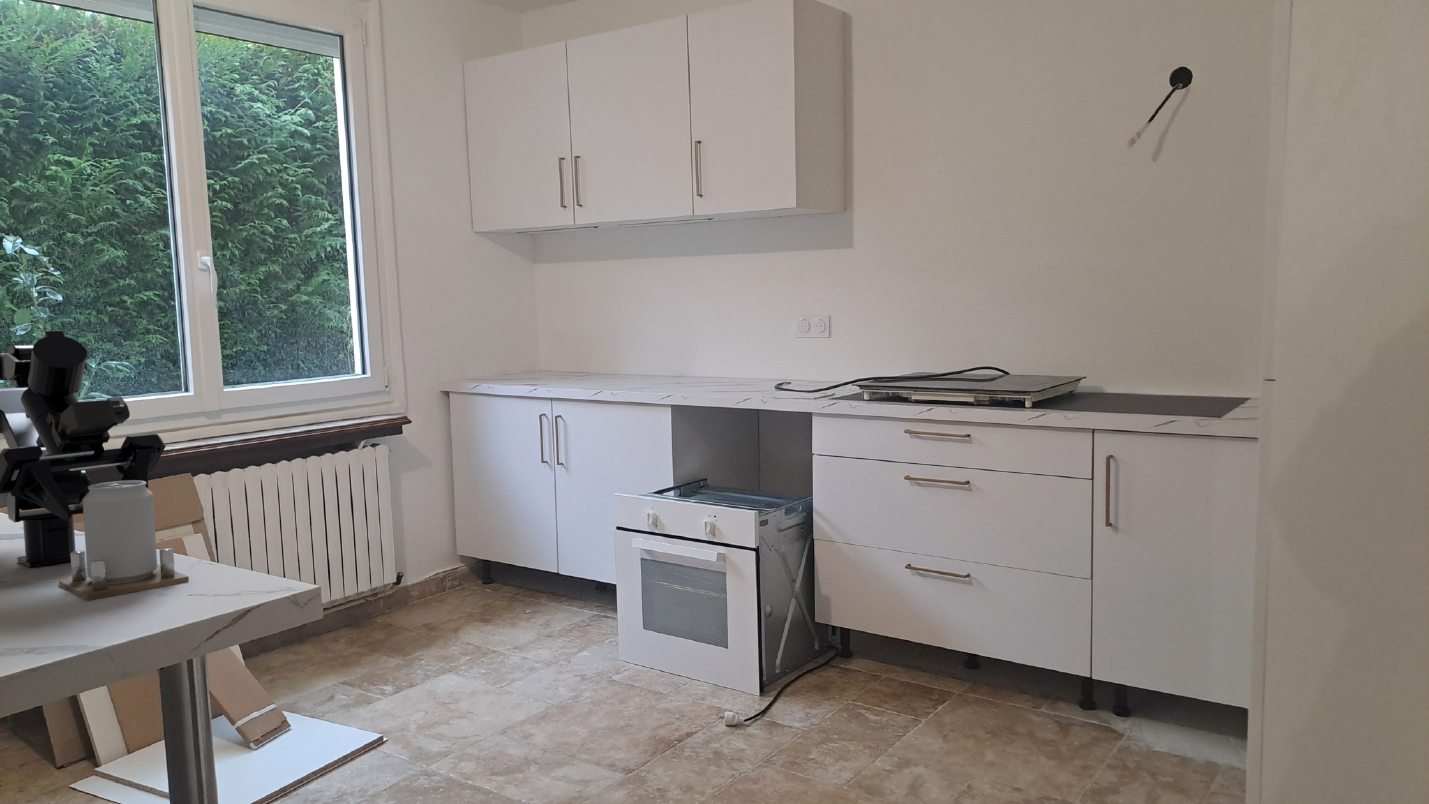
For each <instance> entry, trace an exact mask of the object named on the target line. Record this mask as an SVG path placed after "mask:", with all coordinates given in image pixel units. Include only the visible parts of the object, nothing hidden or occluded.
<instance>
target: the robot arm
mask: <svg viewBox="0 0 1429 804" xmlns="http://www.w3.org/2000/svg"><path fill="white" fill-rule="evenodd" d="M87 356H88V351H87V348H86V347H85V346H84V345H83V344H82V343H81V342H79V341H78V340H76V339H73V338H71V337H68V336H65V334H64V331H63V330H44V334H43V337H42V338H40V339H39V340H36V342H34V344H13V345H12V346H10V348H9V349H7V352H0V381H9V383H10V385H12V386H10V387H9V386H8V387H7V386H5V387H0V434H1V435H3V437H4V440H5V441H6V444H7V446H8V447H6V448H3V449H2V450H1V451H0V494H7V498H6V507H7V508H6V510H7V515H8V516H7V517H8V519H9V520H10V521H12V522H13V523H20V522H22V525H23V537H24V551H25V552H24V553H25V555H24V556H23V555H22V556H18V557H17V558H16V559H17V560H16V561H17V562H18V563H21V564H23V565H25V566H27V567H29V568H35V567H40V566H47V565H53V564H57V563H58V564H59V563H64V562H65V563H66V562H71V552H74V551H77V550H76V537H75V524H74V522H75V521H74V520H75V519H74V515H81V514H82V515H84V514H83V498H84V497H85V496H86V495H87V494H88V493H89V491H90V490H89V489H88V486H90V485H92V479H90V478H89V477H88V475H87V471H86V470H87V469H89V470H90V469H95V468H105V467H111V466H115V467H116V469H117V471H118V473H119V474H121V475H122V477H121V478H120V481H134V480H137V481H145V482H146V483H147V484H146V485H145V487H146V488H147V489H149V477H148V475H149V474H150V473H151V472H153V471H154V469H155V467H156V465H157V464H158V462H159V460H160V458H161V456H162V454H163V453H164V451H165V449H166V444H165V443H164V441H163V439H162V438H161V436H160V435H159V434H157V433H145V434H135V435H127V436H126V437H125V438H124V440H123V442H122V445H121V447H120V448H119V447H117V448H109V449H105V447H104V446H103V444H105V443H108V442H109V440H110V438H111V435H110V433H109V431H110V430H111V429H112V428H113V427H114V426H118V425H120V424H124V422H126V421H127V420H128V419H129V418H130V415H131V412H130V410H129V406H128V404H127V403H126V401H125V400H124V399H123V397H122V396H113V397H111V396H110V397H107V398H106V399H102V400H101V399H100V400H87V401H85V400H84V401H79V400H78V398H77V396H76V395H75V394H76V393H78V392H79V391H80V389H81V388H82V381H83V377H84V372H85V370H87ZM20 510H21V511H20Z"/></svg>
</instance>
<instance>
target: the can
mask: <svg viewBox="0 0 1429 804" xmlns="http://www.w3.org/2000/svg"><path fill="white" fill-rule="evenodd" d="M146 484H147V483H146V482H145V481H137V480H134V481H122V480H116V481H106V482H100V483H94V484H91V485H90V486H88V489H89V490H90V491H89V493H88V494H87V495H86V496H85V497H84V498H83V514H82V515H83V526H84V528H83V529H84V541H85V560H86V575H88V577H89V578H91V579H92V575H91V561H93V560H100V559H105V560H106V574H107V584H120V583H128V582H133V581H138V580H142V579H145V578H147V577H149V576H150V575H151V573H152V572H153V571H154V570H155V569H156V568H157V564H158V558H157V557H158V555H157V540H156V537H157V536H156V524H155V523H156V522H155V504H154V503H155V502H154V492H152V491H151V490H150V489H149V488H148V489H147V488H146V487H145V485H146Z"/></svg>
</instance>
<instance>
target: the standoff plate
mask: <svg viewBox="0 0 1429 804" xmlns="http://www.w3.org/2000/svg"><path fill="white" fill-rule="evenodd" d="M70 563H71V565H70V566H71V578H66V579H60V580H58V586H60V587H61V588H63V589H66V590H67V591H69V592H71V593H74V594H75V595H77V596H79V597H81V598H83V599H85V600H86V601H93V600H97V599H102V598H103V599H104V598H109V597H113V596H118V595H119V596H120V595H123V594H130V593H134V592H139V591H145V590H149V589H155V588H159V587H160V588H161V587H165V586H171V585H176V584H180V583H185V582H189V581H190V579H189V575H187V574H183V573H181V572H178V571H176V570H175V556H174V548H172V547H168V548H160V549H159V564H158V563H157V568H156V569H155V570H154V571H153V572H152V573H151V575H150V576H149V577H147V578H145V579H142V580H138V581H133V582H128V583H120V584H107V574H106V560H105V559H100V560H93V561H91V575H92V579H91V578H89V577H88V575H87V560H86V550H76V551H74V552H71V561H70Z"/></svg>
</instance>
